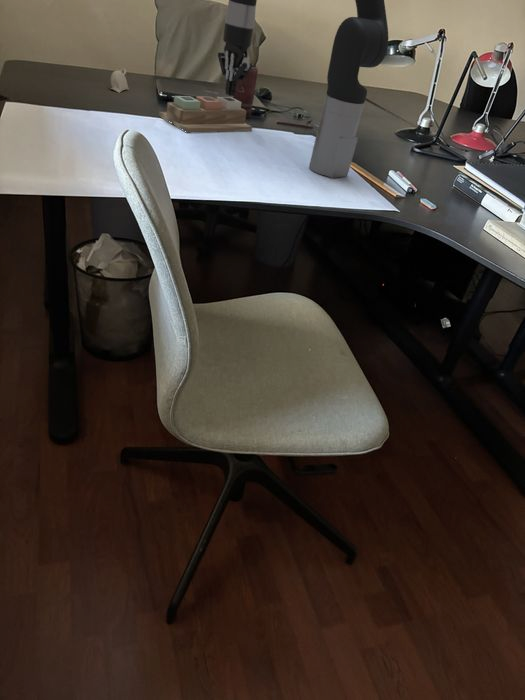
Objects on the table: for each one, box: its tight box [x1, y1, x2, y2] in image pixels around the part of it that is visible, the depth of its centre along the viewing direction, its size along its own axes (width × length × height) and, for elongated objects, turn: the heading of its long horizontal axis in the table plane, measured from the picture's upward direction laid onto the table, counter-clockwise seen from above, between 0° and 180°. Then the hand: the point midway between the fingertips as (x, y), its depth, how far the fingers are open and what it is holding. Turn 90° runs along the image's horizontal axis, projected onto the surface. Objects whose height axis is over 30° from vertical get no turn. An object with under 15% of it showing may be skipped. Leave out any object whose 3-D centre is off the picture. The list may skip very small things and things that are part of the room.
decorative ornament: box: [110, 68, 130, 94], centre depth 157 cm, size 4×8×5 cm, turn 164°
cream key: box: [216, 96, 241, 110], centre depth 147 cm, size 5×5×3 cm
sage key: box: [173, 95, 200, 110], centre depth 139 cm, size 5×5×3 cm
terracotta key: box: [195, 95, 222, 110], centre depth 143 cm, size 5×5×3 cm
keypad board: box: [158, 101, 253, 133], centre depth 145 cm, size 14×22×4 cm, turn 130°
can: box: [232, 65, 259, 120], centre depth 156 cm, size 6×6×14 cm
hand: (229, 94), depth 146 cm, fingers closed
